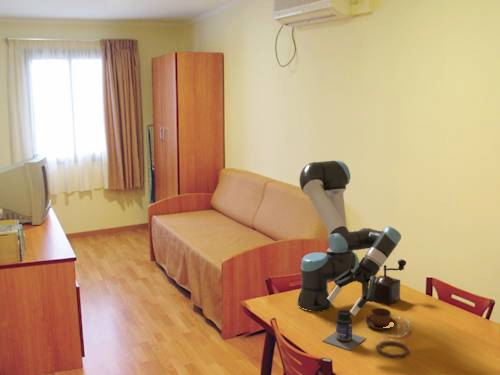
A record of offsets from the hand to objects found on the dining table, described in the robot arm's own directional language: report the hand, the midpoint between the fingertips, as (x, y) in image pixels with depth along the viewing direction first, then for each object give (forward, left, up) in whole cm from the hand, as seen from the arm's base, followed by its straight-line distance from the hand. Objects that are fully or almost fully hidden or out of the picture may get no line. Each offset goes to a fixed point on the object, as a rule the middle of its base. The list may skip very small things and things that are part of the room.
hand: (340, 307), depth 189 cm
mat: (0, +2, -14) cm, 14 cm away
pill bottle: (0, +3, -14) cm, 14 cm away
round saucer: (+18, +6, -14) cm, 24 cm away
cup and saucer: (+5, +23, -15) cm, 28 cm away
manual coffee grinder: (-6, +51, -15) cm, 54 cm away
